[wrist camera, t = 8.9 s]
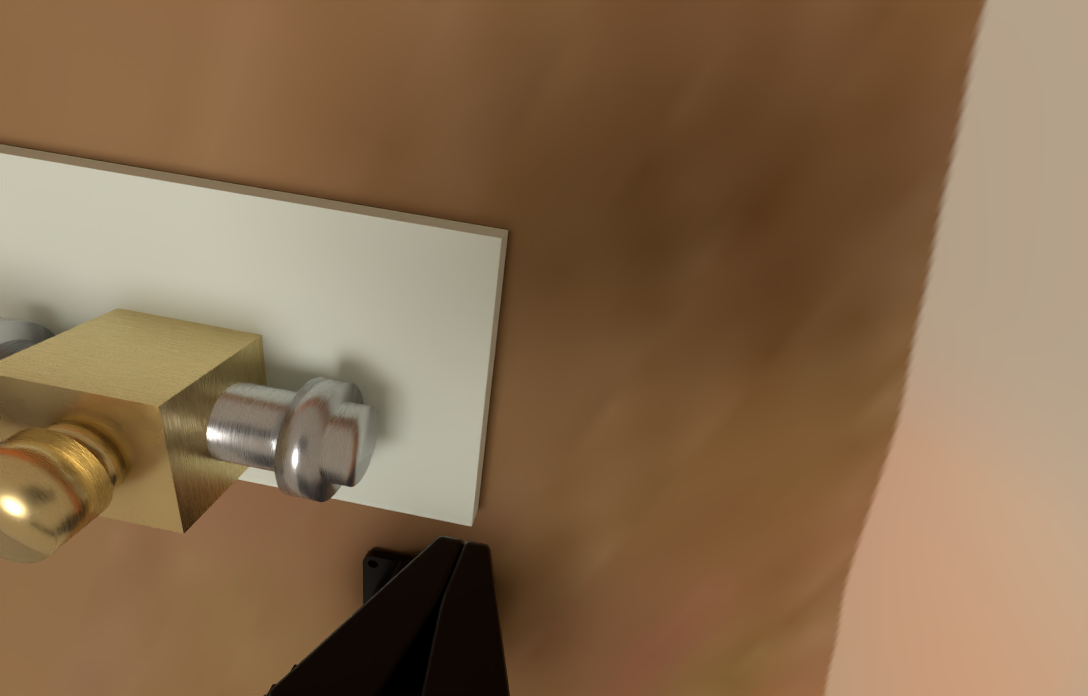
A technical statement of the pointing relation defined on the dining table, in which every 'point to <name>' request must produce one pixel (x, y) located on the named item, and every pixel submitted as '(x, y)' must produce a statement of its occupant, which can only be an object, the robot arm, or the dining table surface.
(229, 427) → the valve
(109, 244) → the board
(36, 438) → the lever
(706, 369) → the dining table surface
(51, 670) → the dining table surface
